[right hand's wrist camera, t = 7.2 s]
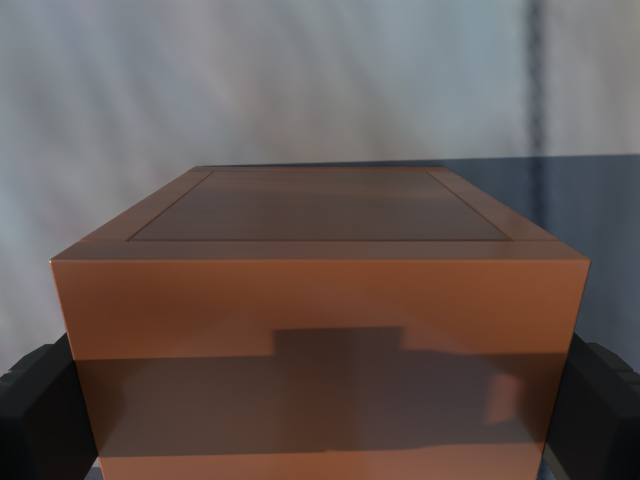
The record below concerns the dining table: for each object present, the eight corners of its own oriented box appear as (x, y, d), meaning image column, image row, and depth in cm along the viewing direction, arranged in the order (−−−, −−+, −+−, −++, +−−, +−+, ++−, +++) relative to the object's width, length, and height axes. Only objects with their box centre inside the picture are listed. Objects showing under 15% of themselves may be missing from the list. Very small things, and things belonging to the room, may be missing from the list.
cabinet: (410, 491, 24) (468, 751, 14) (229, 492, 23) (171, 752, 14) (445, 166, 17) (594, 259, 8) (194, 166, 17) (46, 259, 8)
